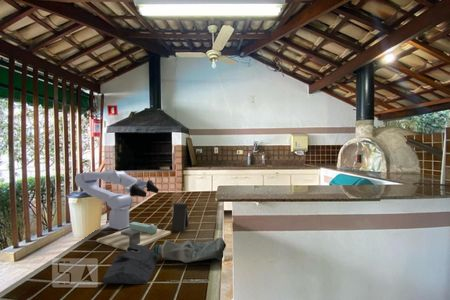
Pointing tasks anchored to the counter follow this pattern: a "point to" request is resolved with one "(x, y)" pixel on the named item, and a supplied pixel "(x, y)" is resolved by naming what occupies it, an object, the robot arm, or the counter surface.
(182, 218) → the phone stand
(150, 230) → the link
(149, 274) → the dark grey cloth
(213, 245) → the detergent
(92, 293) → the counter surface
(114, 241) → the keeper board
